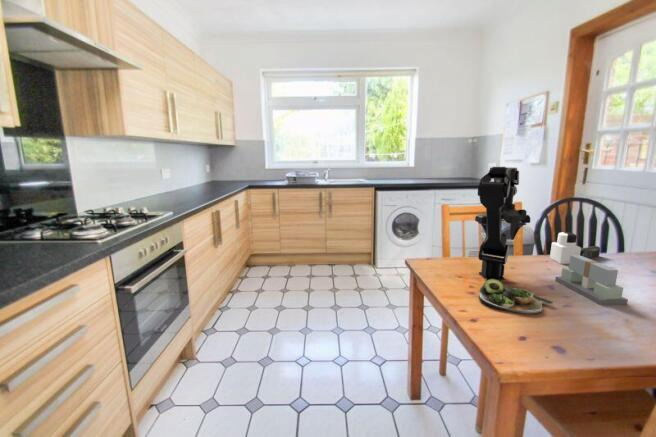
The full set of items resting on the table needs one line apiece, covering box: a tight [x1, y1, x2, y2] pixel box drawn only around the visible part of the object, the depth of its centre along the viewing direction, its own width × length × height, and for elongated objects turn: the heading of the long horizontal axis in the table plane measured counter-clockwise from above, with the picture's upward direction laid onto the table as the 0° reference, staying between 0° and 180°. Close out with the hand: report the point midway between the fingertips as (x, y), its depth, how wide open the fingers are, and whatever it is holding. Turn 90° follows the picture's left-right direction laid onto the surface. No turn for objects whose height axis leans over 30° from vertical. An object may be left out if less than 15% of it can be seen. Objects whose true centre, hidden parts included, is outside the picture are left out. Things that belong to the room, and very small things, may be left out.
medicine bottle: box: [549, 231, 582, 265], centre depth 127 cm, size 7×7×12 cm
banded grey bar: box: [568, 255, 619, 286], centre depth 99 cm, size 3×14×5 cm, turn 1°
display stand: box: [554, 266, 628, 306], centre depth 100 cm, size 8×18×5 cm, turn 1°
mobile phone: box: [580, 245, 601, 260], centre depth 130 cm, size 5×3×15 cm
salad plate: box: [478, 279, 554, 315], centre depth 95 cm, size 19×18×5 cm
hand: (500, 239), depth 121 cm, fingers open, 9 cm apart
